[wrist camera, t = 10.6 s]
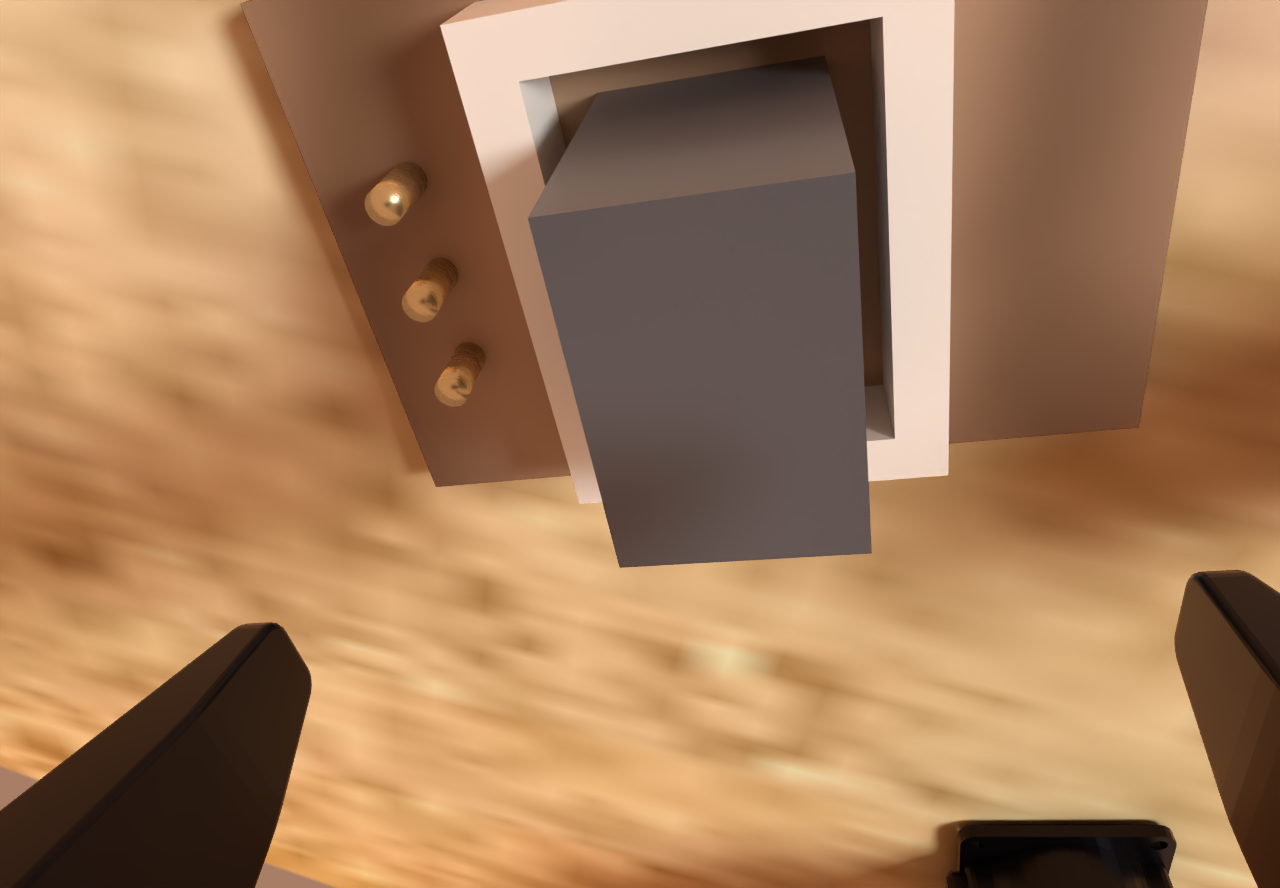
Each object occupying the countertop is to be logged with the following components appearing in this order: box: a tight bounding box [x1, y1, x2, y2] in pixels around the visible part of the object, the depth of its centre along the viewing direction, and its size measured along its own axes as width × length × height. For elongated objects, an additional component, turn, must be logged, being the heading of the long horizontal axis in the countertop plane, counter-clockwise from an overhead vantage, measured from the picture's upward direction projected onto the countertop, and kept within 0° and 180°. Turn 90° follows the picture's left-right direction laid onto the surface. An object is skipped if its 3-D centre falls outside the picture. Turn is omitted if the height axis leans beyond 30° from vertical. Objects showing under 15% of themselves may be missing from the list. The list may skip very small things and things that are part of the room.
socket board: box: [241, 0, 1208, 504], centre depth 17 cm, size 16×11×3 cm
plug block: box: [528, 55, 871, 568], centre depth 15 cm, size 4×6×6 cm, turn 10°
